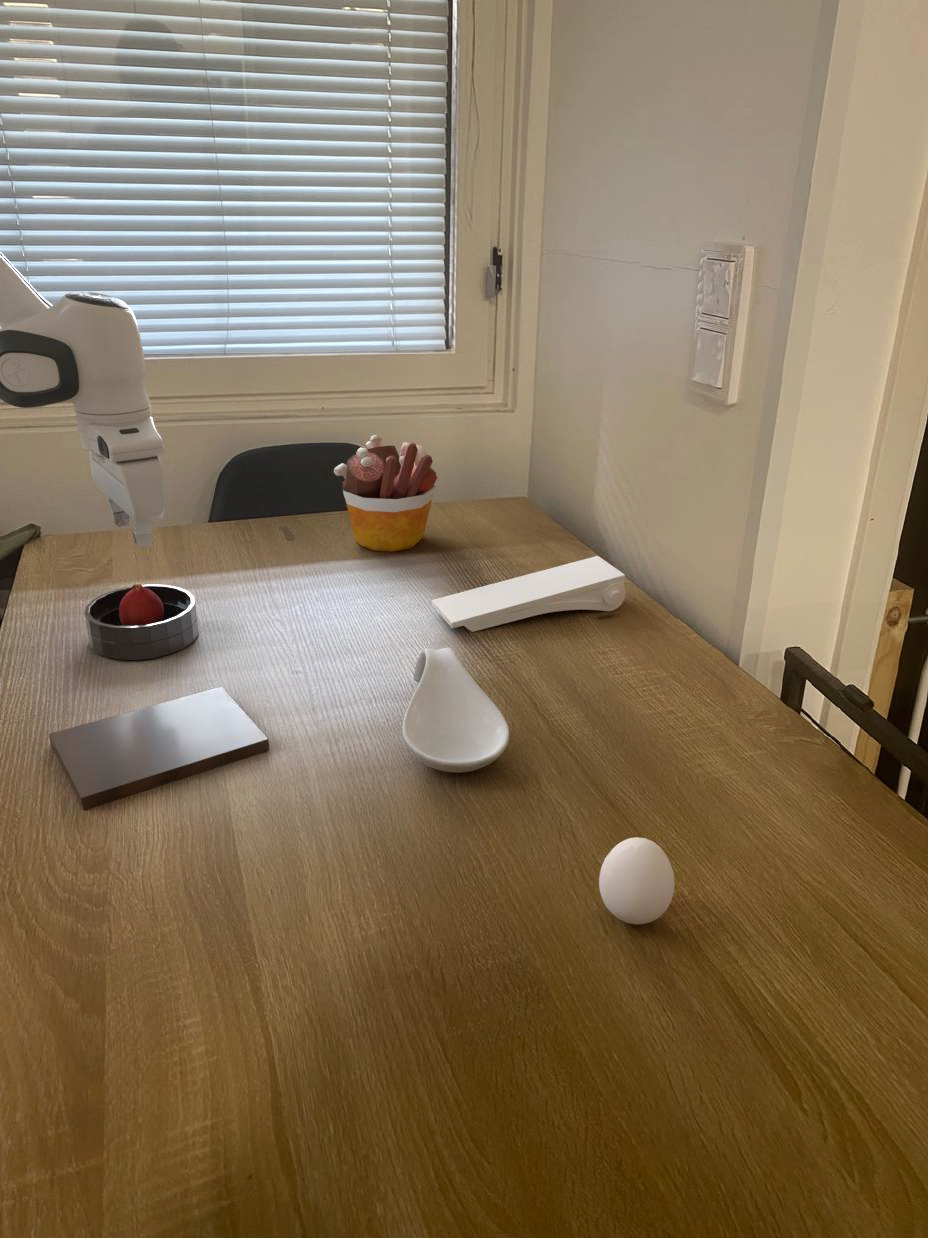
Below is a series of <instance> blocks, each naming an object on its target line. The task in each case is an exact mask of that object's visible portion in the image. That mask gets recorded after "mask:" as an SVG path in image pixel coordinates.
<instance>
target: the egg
mask: <svg viewBox="0 0 928 1238" xmlns="http://www.w3.org/2000/svg"><path fill="white" fill-rule="evenodd" d="M598 877H599V878H598V881H599V882H598V887H599V893H600V897H601V899H602V903H603V904H604V905H605V907H606V909H607V910H608V911H609V912H610V913H611V914H612V915H613V916H614V917H615V918H616V919H618V920H620V921H622V922H623V923H626V924H630V925H635V926H638V925H646V924H650V923H652V922H654V921H656V920H658V919H659V918H660V917H661V916H663V915H664V913H666V911H667V910H668V909H669V906H670V905H671V904H672V901H673V897H674V893H675V873H674V869H673V867H672V863H671V861H670V859H669V857H668V856H667V854H666V853H665V851H664V850H663V848H662V847H660V846H659V845H658V844H657V843H656V842H654V841H653V840H650V839H648V838H647V837H646V838H645V837H639V836H638V837H637V836H635V837H629V838H626V839H624V840H622V841H621V842H619V843H618V844H616V845H615V846H614V847H613V848H612V849H611V850H610V851H609V853H608V854H607V855H606V856H605V858H604V860H603V863H602V865H601V867H600V871H599V876H598Z"/></svg>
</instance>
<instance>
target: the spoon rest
mask: <svg viewBox="0 0 928 1238" xmlns="http://www.w3.org/2000/svg"><path fill="white" fill-rule="evenodd" d="M413 672H414V673H413V680H414V681H415V682H417V683H418V684H417V687H416V689H415V691H414V693H413V695H412V697H411V699H410V701H409V703H408V706H407V709H406V711H405V714H404V717H403V720H402V726H401V733H402V739H403V742H404V744H405V746H406V747H407V749H408V751H410V753H411V754H412V755H413V756H414V757H415V758H416V759H417V760H418V761H419V762H421V763H422V764H424V765H426V766H427V767H429V768H432V769H434V770H437V771H442V772H444V773H453V774H455V773H456V774H457V773H459V774H461V773H469V772H473V771H477V770H480V769H482V768H485V767H487V766H489V765H491V764H492V763H494V761H496V760H497V759H498V758H500V756H501V755H502V754H503V753H504V752H505V750H506V749H507V748H508V747H507V746H508V745H509V743H510V742H509V741H510V728H509V725H508V722H507V721H506V719H505V717H504V715H503V714H502V712H501V710H500V709H499V707H497V705H496V704H495V703H494V702H493V700H491V698H490V697H489V696H488V695H487V694H486V692H485V691H484V690H483V689H482V688H481V687H480V685H479V684H478V683H477V682H476V681H475V679H474V678H473V677H472V676H471V674H470V673H469V672H468V671H467V670H466V668H465V667H464V665H463V664H462V663H461V661H460V660H459V658H458V657H457V654H456V653H455V652H454V651H453V649H452V648H450V647H443V648H437V649H432V648H424V649H422V650H421V652H420V654H419V656H418V658H417V660H416V663H415V667H414V671H413Z"/></svg>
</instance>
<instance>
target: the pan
mask: <svg viewBox="0 0 928 1238" xmlns="http://www.w3.org/2000/svg"><path fill="white" fill-rule="evenodd" d="M141 585H142V586H143V587H145V588H148V589H150V590H151V591H153V592H154V593H155V594H156V595H157V596H158V597H159V598H160V600H161V601H162V603H163V607H164V618H163V620H162V622H157V623H153V624H148V625H138V626H124V625H123V624H122V622H121V620H120V617H119V606H120V603H121V600H122V599H123V597H124V596H125V595H126V594H127V593H128V592H129V591H131V590H132V589H133V588H132V586H133V585H131V586H126V587H121V588H116V589H113V590H110V591H108V592H105V593H102V594H101V595H99V596H97V597H95V598H93V599H92V600H91V601H89V603H88V604H87V605H86V606H85V609H84V619H85V625H86V631H87V637H88V644H89V646H90V647H91V649H92V650H93V652H94V653H97V654H99V655H101V656H102V657H105V658H110V659H114V660H119V661H120V660H121V661H122V660H123V661H141V660H150V659H155V658H160V657H163V656H168V655H171V654H173V653H175V652H178V651H180V650H183V649H185V648H186V647H187V646H189V645H190V644H192V643H193V642H195V640H196V638H197V637H198V635H199V624H198V615H197V606H196V597H195V596H194V595H193V594H192V593H191V592H190V591H189V590H187V589H185V588H181V587H179V586H174V585H168V584H141Z"/></svg>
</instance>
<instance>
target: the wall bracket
mask: <svg viewBox="0 0 928 1238" xmlns="http://www.w3.org/2000/svg"><path fill="white" fill-rule="evenodd" d="M625 581H626V574H625V573H623V572H622V571H621V570H619V569H617V568H616V567H615V566H613V565H612V564H610V563H609V562H607V561H606V560H605V559H603V558H602V557H600V556H599V555H595V556H592V557H588V558H585V559H580V560H577V561H573V562H569V563H565V564H562V565H558V566H555V567H551V568H550V567H549V568H547V569H544V570H539V571H536V572H531V573H529V574H524V575H521V576H516V577H512V578H509V579H506V580H502V581H497V582H494V583H490V584H486V585H483V586H479V587H476V588H475V587H474V588H472V589H468V590H464V591H461V592H457V593H453V594H450V595H446V596H442V597H437V598H435V599H431V606H432V607H433V608H434V609H435V611H436V612H437V613H438V614H439V616H440V617H442V619H443V620H444V621H445V622H446V623H447V624H448V626H449V627H450V628H451V629H455V628H459V627H465V628H466V629H467V630H469V631H470V632H471V633H473V632H478V631H481V630H484V629H489V628H493V627H496V626H500V625H504V624H509V623H512V622H516V621H519V620H524V619H527V618H530V617H535V616H538V615H539V616H540V615H543V614H548V613H555V612H556V613H557V612H563V611H575V610H576V611H577V610H578V611H579V610H583V611H584V610H585V611H586V610H587V611H600V612H601V611H603V612H612V611H615V610H616V609H618V608H619V607H620V606H621V605H622V604H623V603H624V601H625V599H626V594H627V591H626V588H625Z"/></svg>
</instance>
